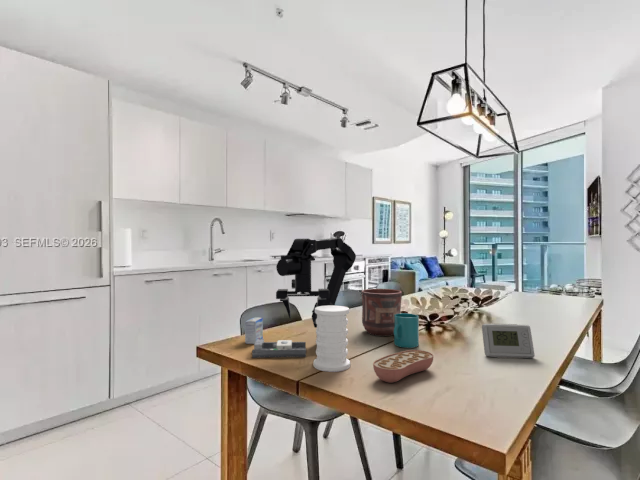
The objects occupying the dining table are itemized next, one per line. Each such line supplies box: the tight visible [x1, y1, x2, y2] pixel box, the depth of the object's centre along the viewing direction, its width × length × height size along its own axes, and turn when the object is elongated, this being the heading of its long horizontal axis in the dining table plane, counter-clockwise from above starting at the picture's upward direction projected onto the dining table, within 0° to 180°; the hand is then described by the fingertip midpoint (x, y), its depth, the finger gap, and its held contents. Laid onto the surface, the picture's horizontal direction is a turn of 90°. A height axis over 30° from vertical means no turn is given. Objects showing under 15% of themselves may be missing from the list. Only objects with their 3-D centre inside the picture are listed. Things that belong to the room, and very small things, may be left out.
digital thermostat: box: [481, 323, 535, 359], centre depth 128 cm, size 16×9×11 cm, turn 72°
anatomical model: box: [372, 349, 434, 384], centre depth 109 cm, size 23×10×5 cm, turn 132°
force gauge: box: [273, 339, 293, 349], centre depth 130 cm, size 6×9×2 cm
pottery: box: [361, 288, 403, 337], centre depth 161 cm, size 18×18×18 cm
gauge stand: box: [251, 338, 307, 359], centre depth 131 cm, size 18×10×4 cm, turn 93°
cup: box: [393, 312, 420, 349], centre depth 140 cm, size 9×12×11 cm
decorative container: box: [312, 305, 351, 373], centre depth 118 cm, size 12×12×18 cm
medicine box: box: [244, 316, 264, 345], centre depth 146 cm, size 8×4×9 cm, turn 168°
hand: (303, 318), depth 132 cm, fingers open, 9 cm apart
